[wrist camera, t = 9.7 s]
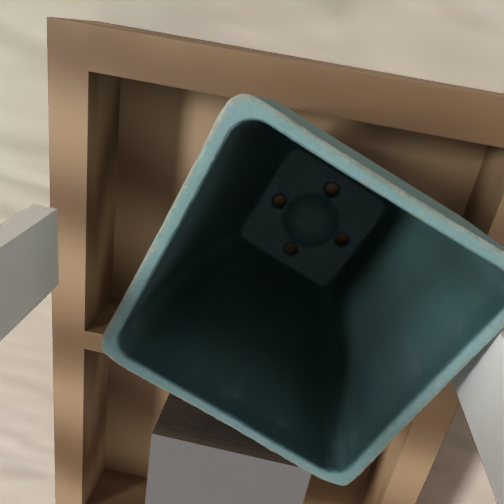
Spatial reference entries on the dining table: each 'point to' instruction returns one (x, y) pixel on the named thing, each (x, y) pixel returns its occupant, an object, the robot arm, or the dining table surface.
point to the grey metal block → (215, 463)
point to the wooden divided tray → (167, 189)
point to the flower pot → (306, 293)
